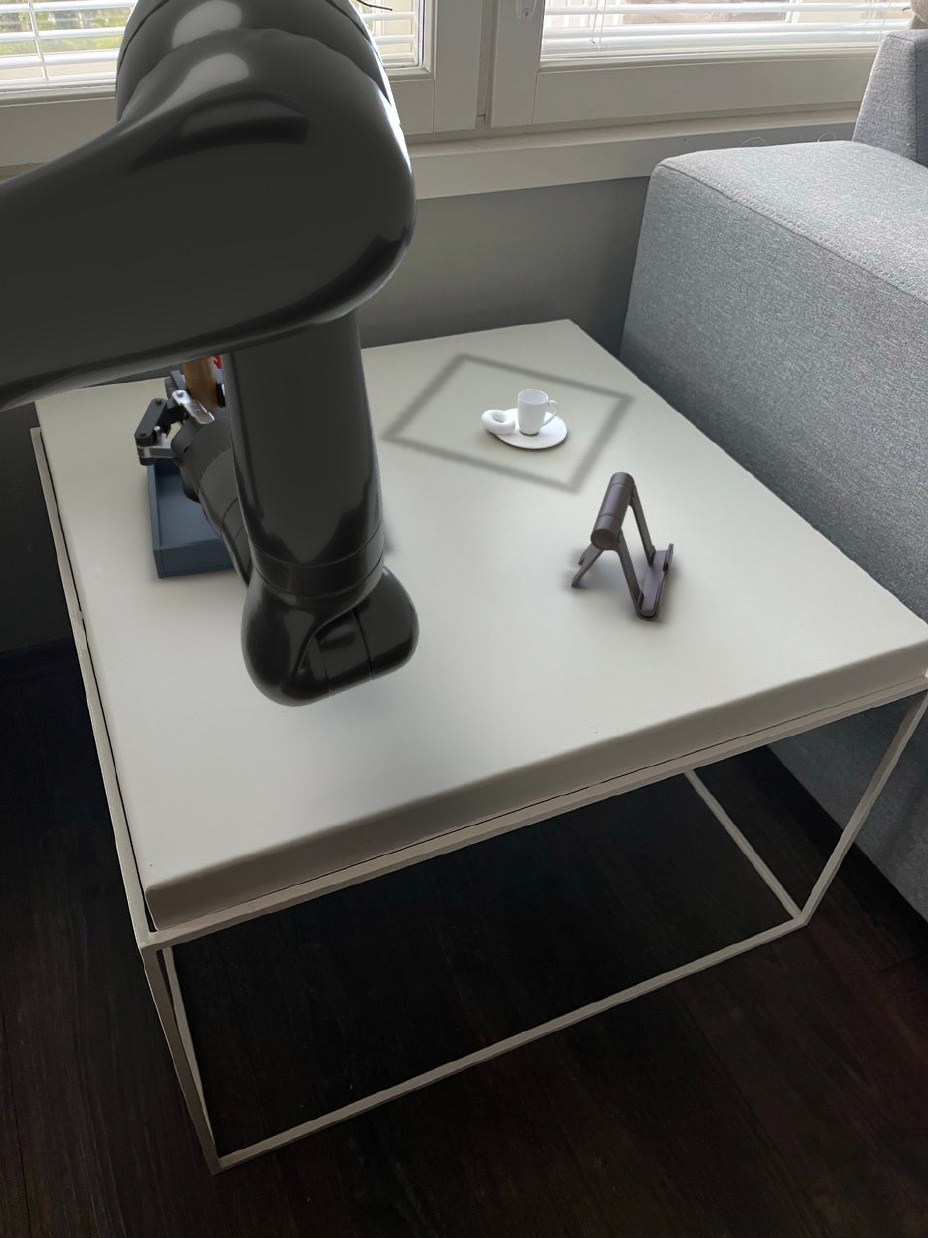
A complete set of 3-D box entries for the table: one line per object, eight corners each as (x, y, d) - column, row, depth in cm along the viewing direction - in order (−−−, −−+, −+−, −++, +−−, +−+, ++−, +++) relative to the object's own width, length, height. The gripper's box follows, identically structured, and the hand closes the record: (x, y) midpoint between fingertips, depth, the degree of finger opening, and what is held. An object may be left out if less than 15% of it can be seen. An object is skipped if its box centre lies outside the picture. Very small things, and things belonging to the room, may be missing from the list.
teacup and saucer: (472, 438, 101) (475, 403, 98) (500, 403, 107) (503, 369, 104) (552, 459, 99) (557, 424, 96) (576, 423, 104) (581, 389, 102)
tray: (158, 579, 82) (152, 550, 80) (151, 478, 93) (145, 450, 90) (381, 551, 86) (381, 523, 84) (350, 458, 97) (349, 431, 95)
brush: (185, 508, 82) (156, 344, 72) (181, 472, 86) (153, 311, 76) (252, 501, 84) (232, 338, 74) (245, 465, 88) (226, 306, 77)
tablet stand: (656, 625, 81) (676, 546, 76) (564, 603, 83) (578, 524, 77) (670, 562, 88) (690, 486, 82) (585, 543, 89) (599, 466, 83)
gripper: (342, 425, 69) (270, 322, 81) (145, 464, 65) (97, 349, 76) (346, 510, 75) (277, 402, 86) (163, 552, 70) (116, 432, 81)
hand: (193, 378), depth 81 cm, fingers closed on brush, 2 cm apart
